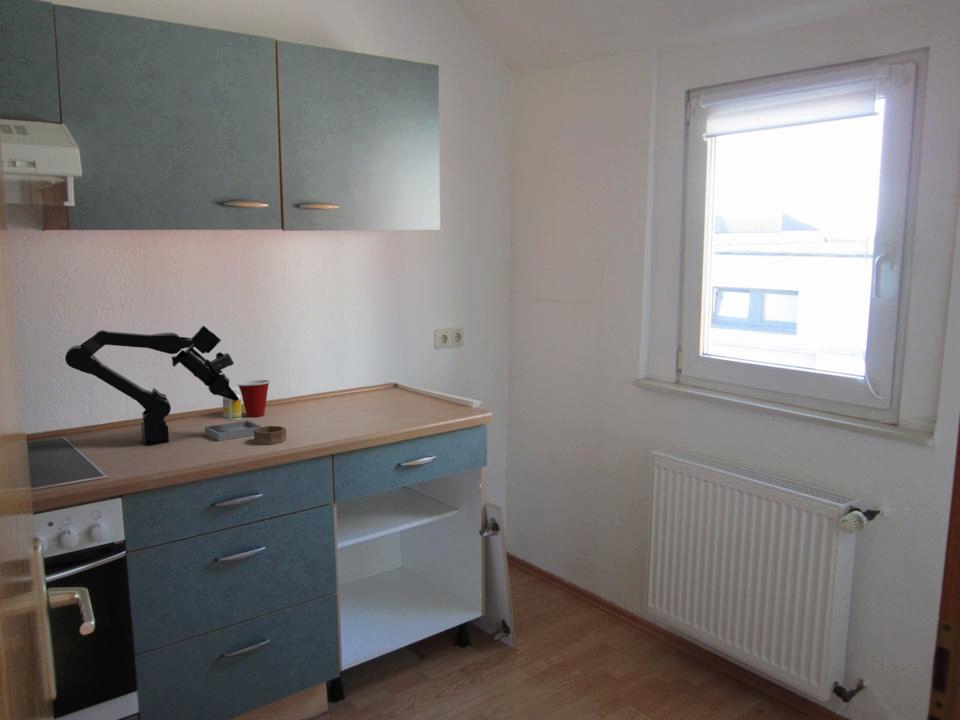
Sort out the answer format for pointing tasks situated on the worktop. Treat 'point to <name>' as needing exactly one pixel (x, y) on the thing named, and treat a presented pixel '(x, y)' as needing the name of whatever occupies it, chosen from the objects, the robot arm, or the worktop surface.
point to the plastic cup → (254, 396)
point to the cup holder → (270, 435)
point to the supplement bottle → (232, 407)
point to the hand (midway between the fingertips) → (236, 398)
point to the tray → (231, 430)
